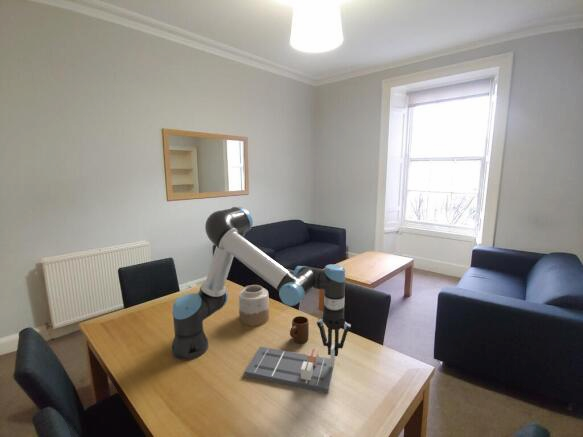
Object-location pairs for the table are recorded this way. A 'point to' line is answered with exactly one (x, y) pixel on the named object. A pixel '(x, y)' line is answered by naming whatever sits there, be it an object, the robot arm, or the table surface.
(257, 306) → the vase
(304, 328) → the mug
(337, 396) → the table surface
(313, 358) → the fader
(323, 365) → the console
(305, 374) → the block
